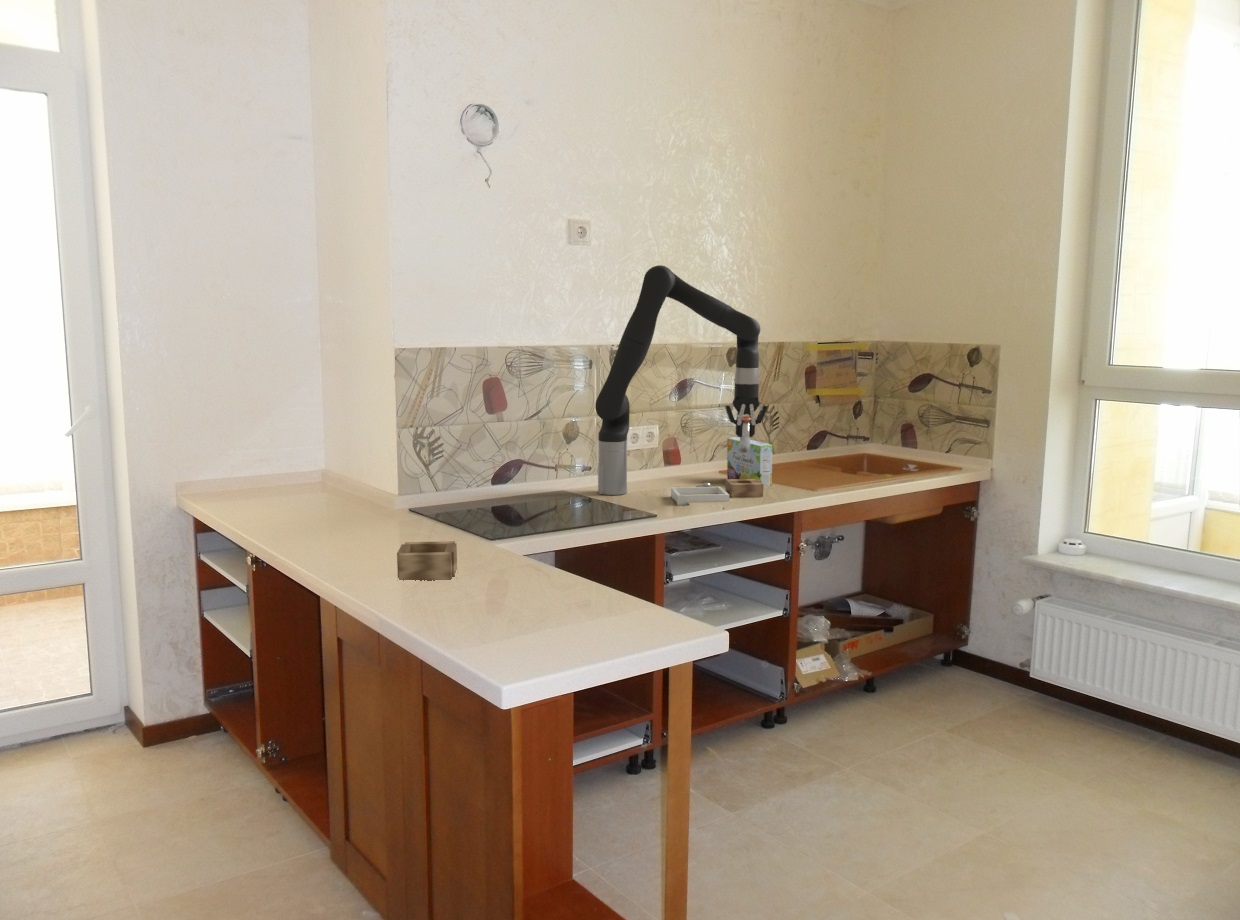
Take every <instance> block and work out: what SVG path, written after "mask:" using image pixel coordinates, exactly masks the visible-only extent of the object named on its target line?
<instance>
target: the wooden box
mask: <svg viewBox="0 0 1240 920" xmlns="http://www.w3.org/2000/svg"><path fill="white" fill-rule="evenodd" d="M724 490H725V491H726V492H727V493H728V494H729V497H730V498H734V499H735V498H764V486H763V484H762V483H761V482H760V481H758V480H757V479H727V478H725V489H724Z"/></svg>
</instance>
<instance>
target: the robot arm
mask: <svg viewBox="0 0 1240 920" xmlns="http://www.w3.org/2000/svg"><path fill="white" fill-rule="evenodd" d="M666 298H669V299H671V300H674V301H676V302H678V303H680V304H682V305H683V306H686V307H687V308H689V309H691V311H692V312H694V313H696V314H697V315H699V316H700V317H702V318H704V319H706V320H707V321H708V322H711V323H712V324H714V325H717V326H718V327H720V328H723V329H725V330H727V331H729V332H730V333H731V334H733V335H735V336H736V357H735V373H734V381H733V382H734V393H733V394H734V396H733V400H732V403H730V404H725V405H724V409H725V412H726V414H727V418H728V419H729V422H730V423H731V424H734V425H735V435H736V437H741V421H742V420H741V419H742V418H743V416H746V415H747V416H749V417H751V426H750V438H753V436H755V434H756V433H755V432H756V425H759V424H761V423H762V420H764V417H765V415H766V412H767V410H768V406H767V405H766V404H763V403H761V402H760V400H759V395H760V394H759V392H760V390H759V388H760V372H759V371H760V368H759V366H760V365H759V362H760V358H759V357H760V354H759V338H760V337H759V336H760V333H761V325H760V323H759V322H758V320H757V319H755V318H753V317H751V316H749V315H747V314H745V313H743V312H740V311H738V310H736V309H734V307H732V306H730V305H729V304H727V303H725V302H724V301H722V300H719V299H718V298H716V297H714V296H712V295H710V294H708V293H706V292H703V291H702V290H700V289H699V288H696V287H694V286H692V285H691V284H689V283H688V282H686V281H684V279H682V278H681V277H679V276H678V275H676V274H675V273H674V272H673V271H672V270H671V269H670V268H669V267H667V266H665V265H660V264H659V265H655V266H653V267H651V268H649V269H648V270H647V271H646V272H645V274H644V277H643V280H642V285H641V289H640V293H639V297H638V299H637V302H636V306H635V308H634V310H633V312H632V314H631V316H630V318H629V320H628V322H627V324H626V326H625V328H624V331H623V333H622V335H621V339H620V341H619V344H618V346H617V350H616V352H615V356H614V358H613V360H612V364H611V367H610V370H609V373H608V376H607V378H606V380H605V382H604V384H603V386H602V388H601V390H600V391H599V394H598V396H597V398H596V401H595V405H594V406H595V407H594V408H595V412H596V414H597V416H598V417H599V418H600V419H601V420H602V423H601V426H600V430H599V432H598V462H597V492H598V495H605V496H606V495H607V496H617V495H619V496H620V495H625V494H627V493H628V485H627V484H628V433H629V429H630V415H631V414H630V407H631V406H630V400H629V398H628V396H627V394H626V393H627V389H628V387H629V385H630V383H631V381H632V379H633V378H634V376H636V374H637V371H639V369H640V367H641V366H642V364H643V363H644V361H645V359H646V357H647V354H648V352H649V349H650V347H651V344H652V341H653V339H654V333H655V330H656V325H657V320H658V317H659V313H660V311H661V308H662V307H663V305H664V303H665V300H666ZM734 409H735V410H736V412H737V413H736V418H735V416H734V414H733V411H734ZM756 410H759V412H758V414H757V416H756V415H755V412H756Z"/></svg>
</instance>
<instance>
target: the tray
mask: <svg viewBox="0 0 1240 920" xmlns="http://www.w3.org/2000/svg"><path fill="white" fill-rule="evenodd" d="M670 497H671V498H672V500H673V501H674V503H675V504H676V505H677V506H690V503H706V502H707V503H708V502H709V503H711V502H713V503H714V502H715V503H716V502H717V503H718V502H721V503H722V502H730V496H729V494H728V493H727V492H726V491H725V489H724V488H723V487H722V486H717V487H696V486H681V487H680V486H679V487H678V486H677V487H676V486H674V487H670Z"/></svg>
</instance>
